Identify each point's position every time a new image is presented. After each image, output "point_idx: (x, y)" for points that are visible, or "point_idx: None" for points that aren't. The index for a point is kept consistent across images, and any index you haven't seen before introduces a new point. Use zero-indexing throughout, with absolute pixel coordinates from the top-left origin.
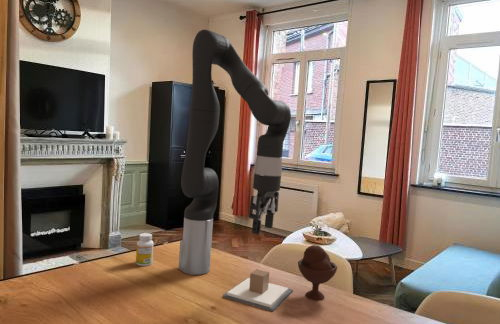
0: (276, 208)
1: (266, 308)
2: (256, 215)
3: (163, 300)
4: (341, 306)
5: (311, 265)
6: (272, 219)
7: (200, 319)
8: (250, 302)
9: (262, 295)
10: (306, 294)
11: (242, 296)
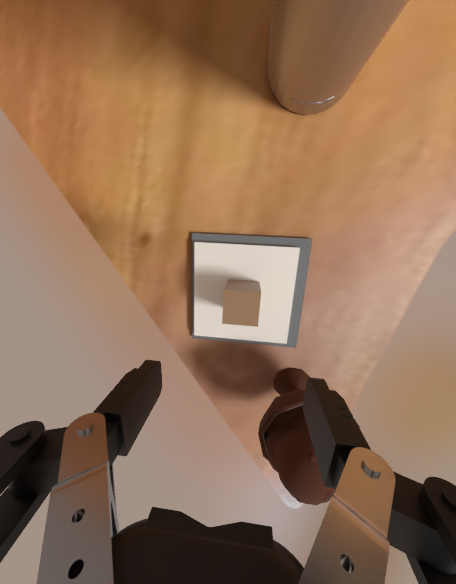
0: (421, 577)
1: (192, 325)
2: (3, 498)
3: (106, 127)
4: None
5: (272, 439)
6: (317, 457)
7: (97, 242)
8: (193, 295)
9: (221, 310)
10: (285, 373)
11: (194, 278)
